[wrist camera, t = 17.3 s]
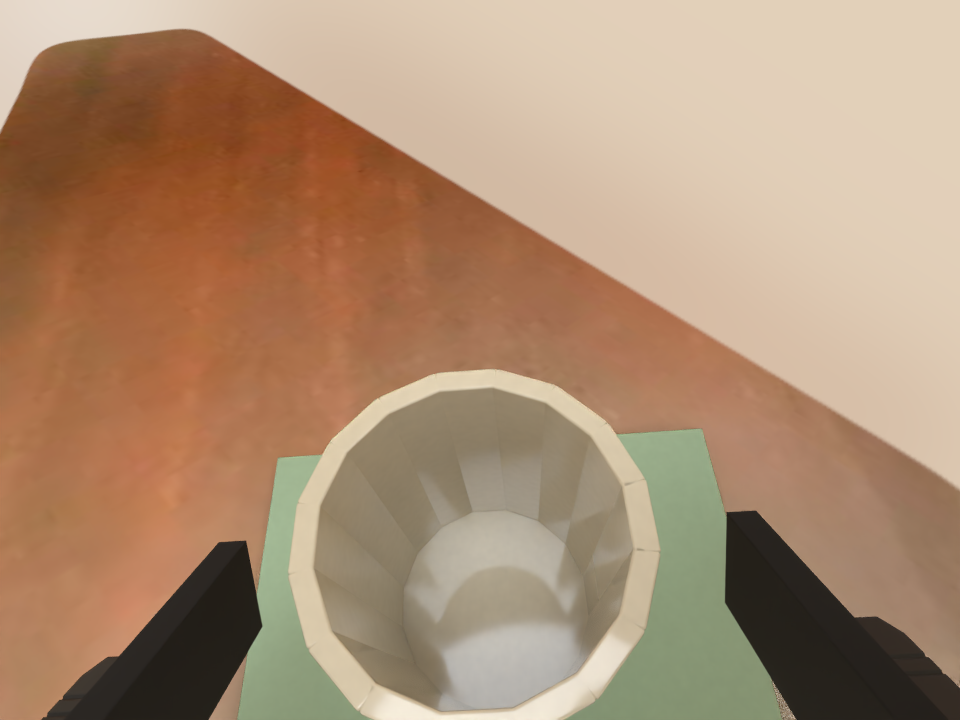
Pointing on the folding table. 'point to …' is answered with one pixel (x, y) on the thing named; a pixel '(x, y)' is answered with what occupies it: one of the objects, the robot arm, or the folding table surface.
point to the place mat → (646, 672)
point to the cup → (474, 552)
